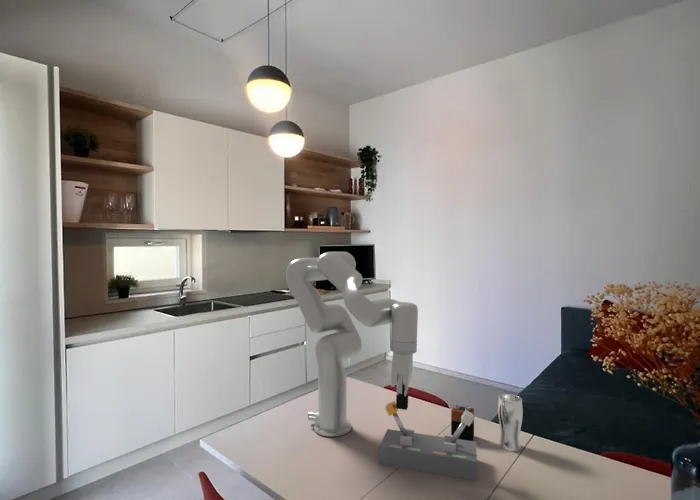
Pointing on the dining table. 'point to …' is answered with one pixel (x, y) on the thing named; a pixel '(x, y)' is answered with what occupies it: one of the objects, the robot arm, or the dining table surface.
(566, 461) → the dining table surface
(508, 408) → the beer glass
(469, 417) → the on lever
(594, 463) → the dining table surface
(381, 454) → the switch box
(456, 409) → the battery
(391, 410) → the orange lever
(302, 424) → the dining table surface
